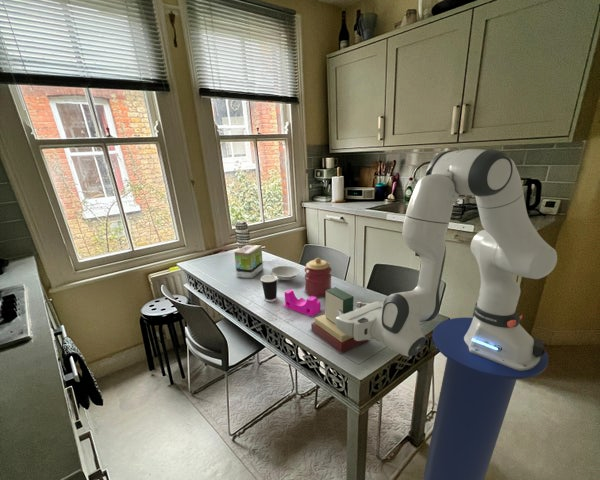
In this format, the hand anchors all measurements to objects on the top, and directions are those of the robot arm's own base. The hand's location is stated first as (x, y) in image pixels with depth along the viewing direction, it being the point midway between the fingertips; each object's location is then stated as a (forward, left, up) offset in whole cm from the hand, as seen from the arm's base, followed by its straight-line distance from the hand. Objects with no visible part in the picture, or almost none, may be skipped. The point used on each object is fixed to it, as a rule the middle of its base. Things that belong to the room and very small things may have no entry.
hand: (347, 307), depth 111 cm
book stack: (+4, 0, -14) cm, 15 cm away
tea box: (+84, -1, -14) cm, 86 cm away
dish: (+63, -12, -14) cm, 66 cm away
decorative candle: (+106, -8, -14) cm, 108 cm away
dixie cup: (+47, +6, -14) cm, 50 cm away
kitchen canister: (+40, -17, -14) cm, 46 cm away
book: (+4, 0, -8) cm, 9 cm away
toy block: (+30, -1, -14) cm, 33 cm away
